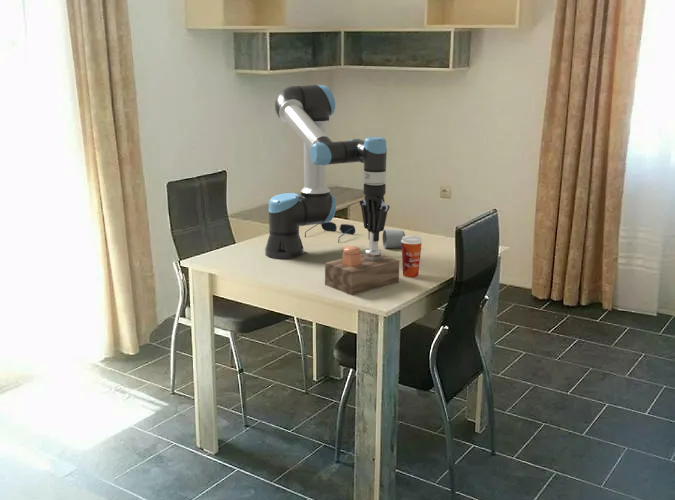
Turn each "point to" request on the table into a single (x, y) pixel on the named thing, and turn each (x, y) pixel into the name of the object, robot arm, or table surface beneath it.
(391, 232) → the ceramic mug
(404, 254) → the paper cup
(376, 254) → the grey button
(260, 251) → the table surface
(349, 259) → the terracotta button
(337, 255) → the table surface
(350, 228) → the sunglasses
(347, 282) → the button console
